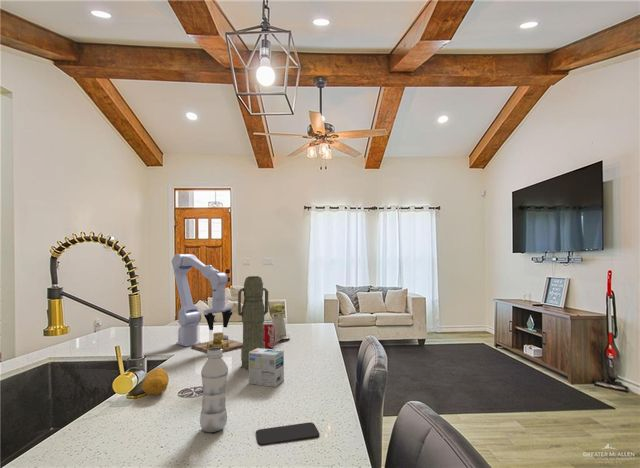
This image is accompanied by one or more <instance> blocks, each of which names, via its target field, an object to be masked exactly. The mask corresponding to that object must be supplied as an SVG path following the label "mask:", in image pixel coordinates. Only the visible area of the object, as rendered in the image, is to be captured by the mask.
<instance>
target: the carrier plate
mask: <svg viewBox="0 0 640 468" xmlns="http://www.w3.org/2000/svg"><path fill="white" fill-rule="evenodd" d="M223 340H228V342H229V347H226V348H224V349H222V354H223V353H225V352H229V351H235V350H239V349H242V346H243V342H242V341H236V340H234V339H229V335H226V334H223ZM210 341H211V340H209V341H204V342H201V343H199V344H194V345H191V348H192V349H194V348H195V350H198V351H201V352H204V353H207V350H208V347H207V342H210ZM234 349H235V350H234Z"/></svg>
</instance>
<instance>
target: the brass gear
mask: <svg viewBox="0 0 640 468" xmlns="http://www.w3.org/2000/svg"><path fill="white" fill-rule="evenodd" d="M223 335H224V332H221V331H220V332H219V331H218V332H214V333H213V334H212V337H213V338H212V340H209V341H210V342H208V341H206V342H207V347H208V349H210V348H222V349H224V348H226V347H229V342H228V340H223Z"/></svg>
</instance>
